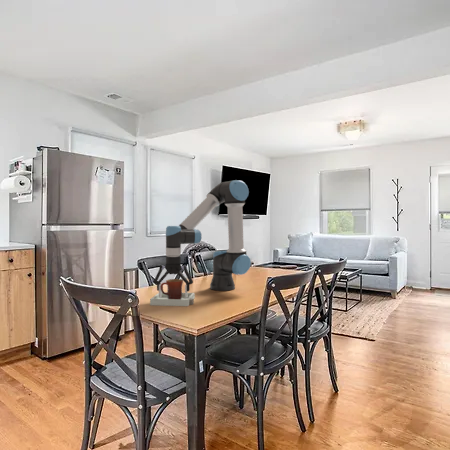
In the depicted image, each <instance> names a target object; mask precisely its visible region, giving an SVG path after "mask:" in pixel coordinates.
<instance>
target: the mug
mask: <svg viewBox="0 0 450 450" xmlns="http://www.w3.org/2000/svg"><path fill="white" fill-rule="evenodd" d="M183 283H184V281H183V280H182V278H180V279H179V278H171V279H170V278H169V279H167V280H165V282H161V283H160V284H161V292H162V293H163V294H165V295H167V298H168V299H182V293H183ZM165 285H166V286H167V291H164V286H165ZM165 292H167V293H165Z"/></svg>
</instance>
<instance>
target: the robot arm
mask: <svg viewBox="0 0 450 450" xmlns="http://www.w3.org/2000/svg"><path fill="white" fill-rule="evenodd" d="M249 193H250V191H249V188H248V185H247V184H246V182H244V181H243V180H237V179H235V180H229V181H222V182H220V183H219V184H217V185H216V186H215V187H214V188H212V189H211V190H210V191H209V192H208V193H207V194H206V198H205V199H203V201H202V202H201V203H200V204H199V205H198V206H196V207H195V209H193V210H192V211H191V213H189V215H187V216H186V218H185V219H183V221H182V222H181V223H180V224H178V225H167V226H166V228H165V256H166V257H165V265H163V264H160V265H159V269H158V272H157V273H156V275H155V278H154V280H153V282H152V283H153V284H156V291H158V293H159V298H160V297H162V292H161V284H162V283H163V281H164V279H165V278H166V277H167V276H168V275H178V276H179V277H180V279H182V280H183V283H184V284H185V285H184V293H185V298H187V297H188V293H189V292H190V290H191V289H190V285H192V284H193V283H194V280H193V279H192V277H191V274H190V272H189V270H188V265H187V264H186V265H181V264H182V263H181V262H182V261H181V260H182V259H181V257H182V256H181V249H182V248H181V247H182V245H186V244H187V245H189V244H190V245H191V244H194V245H195V244H199V243H201V242H202V232H201V231H200V230H199V229H195V228H196V227H197V226H199V224H200V223H201V222H202V221H203V220H204V219H205V218H206V217H207V216H208V215H209V214H210V213H211V212H212V211H213V210H214V209H215V208H216V207H219V206H220V205H221V204H223V203H224V206H226V207H227V226H228V227H227V231H228V233H227V234H228V249H227V250H219V251H214V252H213V253H212V254H213V255H212V277H211V278H212V279H211V280H210V281H211V282H210V285H209V287H210V290H213V291H221V292H222V291H223V292H224V291H232V290H235V288H236V286H235V285H236V284H235V281H234V278H233V274H234V275H241V276H242V275H245V274H246V273H247V272H248V271H249V270H250V268H251V264H252V261H251V258H250V257H249V255H247V249H245V247H244V223H243V222H244V220H243V218H244V217H243V216H244V213H243V212H244V211H243V207H244V205H245V204H246V200H247V198H248V197H249ZM163 270H165V272H164V274H163V275H162V276H161V274H162V272H163ZM181 270H182V271H183V272H184V273H185V275H184V274H183V273H182V271H181ZM160 276H161V277H160ZM185 276H186V277H185Z"/></svg>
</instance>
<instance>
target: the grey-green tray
mask: <svg viewBox="0 0 450 450" xmlns="http://www.w3.org/2000/svg"><path fill="white" fill-rule="evenodd" d="M164 292H165V293H167V291H164ZM194 304H195V292H188V297H187V298H185V292H182V299H168V298H167V295H165V294H163V293H162V297H160V298H159V292H158V293H156V294H155V295H154V296H152V297H150V300H149V306H161V307H162V306H164V307H165V306H166V307H168V306H169V307H189V306H193V305H194Z"/></svg>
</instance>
